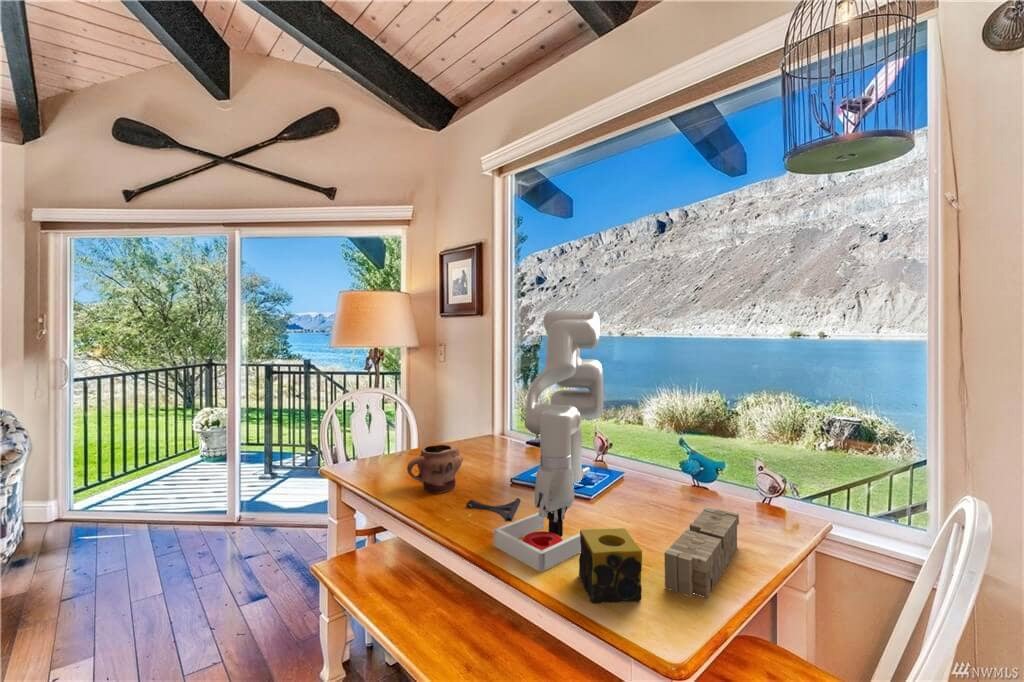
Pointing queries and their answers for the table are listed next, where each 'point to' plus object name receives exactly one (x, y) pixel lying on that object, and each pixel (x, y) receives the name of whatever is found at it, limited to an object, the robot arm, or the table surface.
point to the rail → (528, 554)
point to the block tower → (701, 552)
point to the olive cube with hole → (610, 565)
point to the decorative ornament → (542, 539)
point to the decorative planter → (437, 467)
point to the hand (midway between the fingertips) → (555, 535)
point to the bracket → (497, 508)
